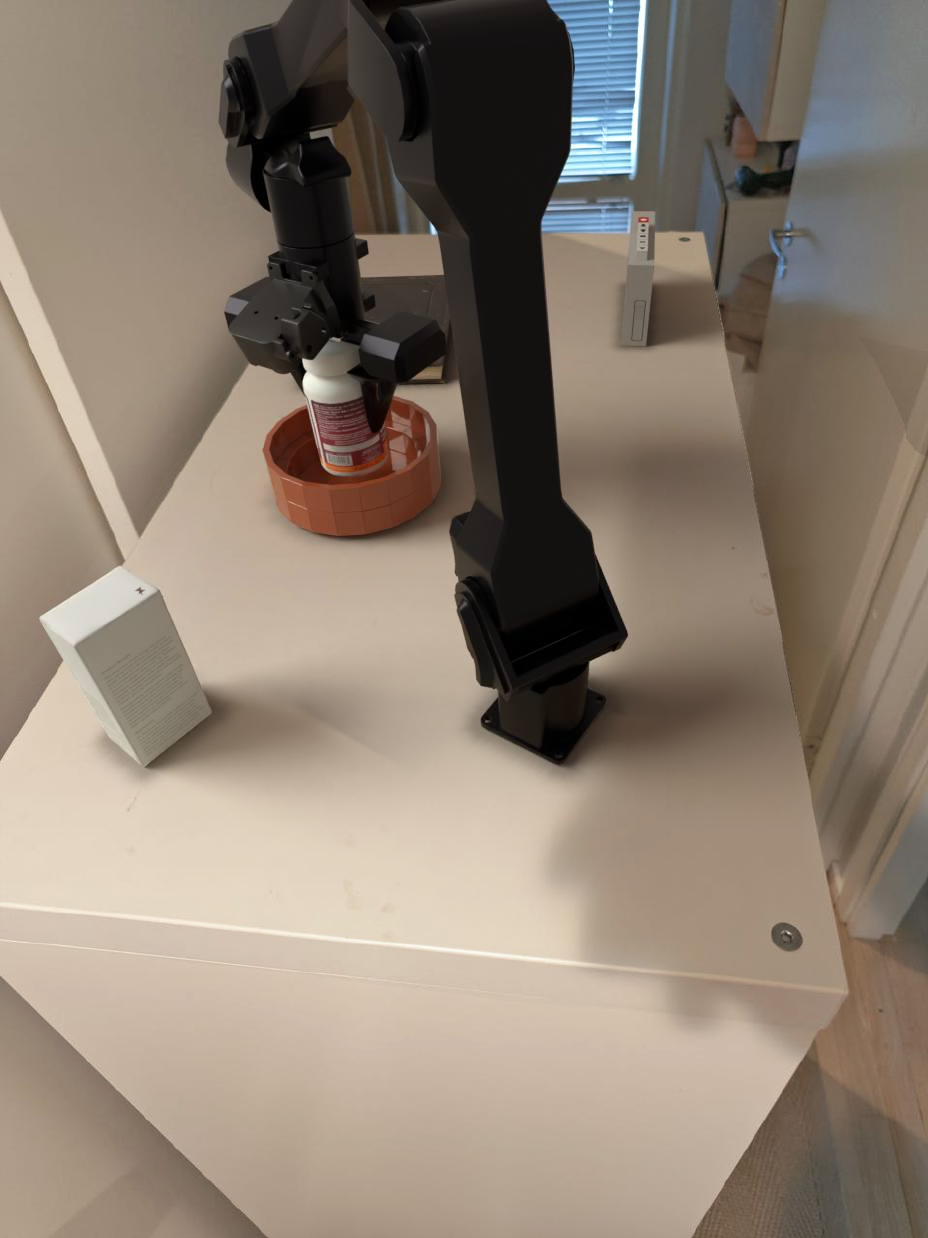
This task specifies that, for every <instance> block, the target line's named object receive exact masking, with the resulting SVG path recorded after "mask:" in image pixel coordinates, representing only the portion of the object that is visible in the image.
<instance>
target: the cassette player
mask: <svg viewBox="0 0 928 1238" xmlns="http://www.w3.org/2000/svg"><path fill="white" fill-rule="evenodd" d="M630 217H631V218H630V230H629V241H628V253H627V254H628V256H627V265H626V277H625V291H624V292H625V293H624V303H623V316H622V317H623V318H622V331H621V346H622V347H647V341H648V340H647V339H648V329H649V320H650V311H651V301H652V292H653V284H654V283H653V281H654V275H655V274H654V273H655V251H656V250H655V249H656V246H655V245H656V211H653V210H652V211H651V210H649V211H647V210H645V211H642V210H639V211H638V210H635V211H634V210H633V211H631V216H630Z"/></svg>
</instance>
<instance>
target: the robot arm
mask: <svg viewBox="0 0 928 1238" xmlns="http://www.w3.org/2000/svg"><path fill="white" fill-rule="evenodd" d="M227 58H228V59H224V61H223V63H222V64H223V66H222V77H223V79H222V81H221V84H220V93H219V94H220V96H219V108H218V120H217V121H218V124H219V127H220V130H221V133H222V135H223V137H224V139H225V140H226V141H227V142H228V143H227V146H226V153H225V154H226V155H225V164H226V165H225V166H226V168H227V171H228V174H229V177H230V178H231V179H232V181H233V182H234V184H235V185H236V186H237V187H238V188H239V189H240V190H241V191H242V192H243V193H244V194H246V196H248V197H250V199H252V200H253V201H254V202H255V203H256V204H258V205H259V206H260V207H261V208H262V209H263V210H265V211H267V212H268V213H271V218H272V223H273V228H274V233H275V238H276V243H277V248H278V250H277V251H275V252H273V253H272V254H269V255H267V259H268V262H267V264H266V269H267V273H268V276H265V277H263V278H260V279H259V280H257V281H255V282H254V283H252V284H249V285H248V286H246V287H244V288H242V289H240V290H238V291H236V292H235V293H232V294H231V295H228V298H227V301H226V303H225V306H224V309H223V313H224V317H225V321H226V325H227V329H228V332H229V333H228V334H230V335H231V337H232V339H233V340H234V341H235V343H236V345H237V346H238V348H239V350H241V353H242V354H243V356H244V357H245V359H246V360H247V362H248V363H249V364H250V365H251V366H254V367H258V366H259V367H261V368H265V369H268V370H271V371H273V372H274V373H276V374H279V375H289V374H290V375H291V377H292V378H293V380H294V381H295V383H296V385H297V386H298V388H299V389H300V391H301V393H302V395H303V396H304V397H305V394H304V389H303V378H304V375H305V373H306V372H307V371H306V370H305V368H304V366H303V361H302V358H303V359H306V360H314V359H315V357H316V356H317V355H318V354H319V352H320V351H321V350H322V349H323V347H324V346H325V345H326V343H327V342H328V341H329V339H330V340H333V341H337V342H342V341H343V342H347V343H350V344H354V345H357V346H360V347H359V350H358V351H359V358H360V363H359V364H358V365H356V366H355V367H353V368H352V369H350V370H349V371H347V374H348V375H349V376H351V377H352V378H354V379H355V380H357V381H358V382H359V383H360V385H361V391H362V396H363V401H364V406H365V411H366V416H367V421H368V424H369V427H370V430H371V432H372V433H377V432H378V431H380V430H381V429H382V427H383V424H384V422H385V419H386V416H387V413H388V410H389V407H390V404H391V401H392V398H393V396H395V392H396V390H397V387H398V385H399V384H398V383H403V382H408V381H409V380H410V379H412V378H413V377H415V376H416V375H417V374H419V373H420V372H422V371H423V370H424V369H426V368H427V367H428V366H430V365H431V364H433V363H434V362H435V361H437V360H438V359H440V358H441V357H442V356H444V355H445V354H446V353H447V350H446V337H445V331H444V327H443V326H442V325H441V324H440V323H439V322H438V321H437V320H435V319H431V318H428V317H424V316H420V315H416V314H412V313H408V312H404V311H399V312H397V313H396V314H394V315H393V316H391V317H389V318H388V319H386V320H385V321H383V322H382V323H380V324H379V323H375V322H372V321H368V320H365V318H366V315H365V313H366V312H368V311H370V310H371V309H373V308H374V307H376V304H375V296H374V294H372V293H368V292H363V289H362V281H361V277H362V275H361V268H360V261H359V260H361V259H363V258H364V257H366V256H368V255H369V254H370V252H369V243H368V240H367V239H362V238H358V237H356V233H355V227H354V226H355V225H354V220H353V213H352V204H351V199H350V191H349V184H348V178H350V177H351V176H352V172H353V171H352V167H351V165H350V163H349V161H348V159H347V157H346V156H345V155H344V154H343V153H341V152H340V151H339V150H338V149H337V148H336V147H335V145H334V144H333V142H332V140H331V138H330V137H329V136H328V135H323V136H318V137H315V138H311V133H314V132H319V131H325V130H329V129H333V128H337V127H338V126H339V124H340V123H344V121H345V120H346V117H347V115H348V113H349V112H350V110H351V108H352V107H353V105H354V103H355V100H356V99H358V101H359V102H360V103H361V105H362V107H364V109H365V111H366V112H367V114H368V115H369V116H370V118H371V119H372V120H373V122H374V123H375V126H377V128H378V130H379V131H380V132H381V134H382V135H383V136H384V137H385V138H386V143H387V148H388V153H389V156H390V157H389V158H390V162H391V165H392V170H393V173H394V176H395V178H396V180H397V181H398V182H399V184H400V185H401V186H402V188H403V189H404V190H405V192H406V193H407V194H408V195H409V197H410V198H411V199H412V201H413V202H414V203H415V205H416V206H417V207H418V208H419V210H420V211H421V212H422V214H423V215H424V216H425V218H426V219H427V220H428V222H430V224H431V225H432V226H433V228H434V229H435V231H436V233H437V239H438V244H439V249H440V257H441V264H442V271H443V275H444V278H445V285H446V292H447V299H448V306H449V313H450V320H451V327H452V334H451V335H452V341H453V347H454V354H455V361H456V369H457V376H458V384H459V389H460V396H461V397H460V398H461V405H462V411H463V417H464V424H465V432H466V438H467V445H468V453H469V459H470V465H471V466H470V467H471V473H472V481H473V487H474V498H475V499H474V501H473V503H472V506H471V508H470V510H468V511H465V512H463V513H460V514H458V515H455V516H453V517H451V521H450V524H449V529H448V535H449V539H450V542H451V548H452V552H453V557H454V575H455V576H456V577H457V582H456V583H455V587H454V594H453V596H454V601H455V605H456V615H457V617H458V620H459V623H460V625H461V629H462V633H463V637H464V641H465V645H466V649H467V651H468V652H469V655H470V657H471V659H472V660H473V663H474V668H475V669H474V671H475V680H476V682H477V683H478V684H479V686H480V687H484V688H489V689H492V690H497V697H496V698H495V700H493V702H492V703H491V705H490V706H489V707H488V708H487V709H486V710H485V712H484V713H483V714H482V715H481V717H480V726H481V728H482V729H484V730H486V731H489V732H491V733H492V734H494V735H497V737H500V738H502V739H504V740H506V741H509V742H510V743H512V744H514V745H517V746H518V747H520V748H522V749H524V750H526V751H528V752H530V753H532V754H534V755H536V756H538V757H540V758H542V759H544V760H546V761H548V762H550V763H552V764H554V765H557V766H562V765H564V764H565V763H566V762H567V760H568V759H569V758H570V757H571V755H572V754H573V752H574V751H575V750H576V748H577V746H578V745H579V744H580V742H581V741H582V740H583V738H584V737H585V735H586V734H587V733H588V731H589V730H590V729H591V727H592V726H593V724H594V723H595V721H596V720H597V719H598V718H599V716H600V715H601V713H602V712H603V710H604V709H605V707H606V705H607V697H606V696H605V695H604V694H603V693H600V692H598V691H595V690H593V689H591V688H589V678H590V677H589V676H590V665H591V664H590V663H591V662H592V661H594V660H596V659H598V658H601V657H602V656H604V655H607V654H609V653H611V652H612V653H615V652H616V651H618V650H621V649H622V647H623V645H624V644H625V642H627V641H626V640H627V639H628V638H629V632H628V630H627V627H626V624H625V623H624V620H623V617H622V615H621V612H620V610H619V607H618V605H617V602H616V600H615V598H614V595H613V593H612V590H611V588H610V586H609V583H608V580H607V578H606V576H605V574H604V571H603V568H602V566H601V564H600V561H599V558H598V557H597V554H596V549H595V544H594V537H593V533H592V531H591V529H590V528H589V526H587V524H586V523H585V522H584V520H582V518H580V516H579V515H578V514H577V512H575V510H574V509H573V508H572V507H571V505H569V503H568V502H567V501H566V500H565V499H564V497H563V491H562V483H561V481H562V480H561V469H560V468H561V467H560V456H559V455H560V454H559V453H560V452H559V441H558V429H557V427H558V426H557V416H556V415H557V414H556V403H555V389H554V378H553V377H554V376H553V364H552V363H553V361H552V350H551V337H550V336H551V335H550V324H549V311H548V299H547V297H548V296H547V286H546V284H547V283H546V274H545V273H546V271H545V260H544V245H543V230H542V229H543V227H542V224H543V219H544V216H545V214H546V211H547V209H548V207H549V204H550V202H551V200H552V197H553V195H554V193H555V190H556V188H557V185H558V183H559V180H560V178H561V176H562V174H563V171H564V169H565V166H566V164H567V161H568V159H569V156H570V153H571V149H572V130H573V129H572V125H573V124H572V123H573V101H574V99H573V97H574V80H575V72H576V62H575V61H576V60H575V49H574V45H573V42H572V39H571V35H570V32H569V29H568V25H567V23H566V22H565V21H564V19H563V18H561V17H560V16H559V15H558V14H557V13H556V12H555V11H554V9H553V8H552V7H551V6H550V3H549V2H548V0H291V1H290V2H289V3H288V5H287V6H286V8H285V10H284V11H283V13H282V14H281V16H280V17H279V18H278V19H277V20H275V21H274V22H271V23H268V24H264V25H260V26H257V27H252V28H250V29H245V30H243V31H242V32H239V33H238V34H235V35H233V36H232V37H231V39H230V41H229V43H228V49H227ZM487 721H489V722H487ZM558 756H560V757H558Z"/></svg>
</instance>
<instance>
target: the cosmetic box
mask: <svg viewBox="0 0 928 1238" xmlns="http://www.w3.org/2000/svg"><path fill="white" fill-rule="evenodd" d="M39 621H40V624H41V625H42V626H43V628H44V630H45V632H46V633H47V635H48V637H49V639H50V640H51V642H52V643H53V646H55V649H56V650H57V652H58V653H59V656H60V657H61V658H62V660H63V662H64V663H65V664H66V667H67V668H68V670H69V672H70V673H71V675H72V677H73V679H74V680H75V682H76V684H77V685H78V687H79V689H80V691H81V693H82V694H83V696H84V697H85V699H86V701H87V702H88V704H89V706H90V707H91V709H92V710H93V712H94V714H95V716H96V717H97V720H98V721H99V722H100V724H101V726H102V728H103V729H104V731H105V733H106V735H107V736H108V738H109V739H110V740H111V741H112V742H113V743H115V744H116V745H117V746H118V747H120V749H121V750H123V751H124V752H125V753H126V754H127V755H128V756H130V757H131V758H132V759H133V760H134V761H136V763H138V764H139V765H140V766H141V767H144V768H145V767H146V766H149V764H151V763H152V762H153V761H155V759H156V758H158V757H159V756H160V755H161V754H163V753H164V752H165V751H166V750H168V749H169V748H170V747H171V746H173V745H174V744H175V743H176V742H178V741H179V740H181V738H182V737H183V738H184V736H185V735H187V734H188V733H189V732H190V731H192V730H193V729H194V728H195V727H197V726H198V725H199V724H200V723H202V722H203V721H204V720H206V719H207V718H208V717H209V716H210V715H212V713H213V710H212V707H211V705H210V703H209V701H208V698H207V696H206V694H205V691H204V689H203V686H202V684H201V682H200V680H199V678H198V675H197V674H196V671H195V669H194V665H193V663H192V661H191V659H190V657H189V654H188V652H187V650H186V647H185V645H184V643H183V641H182V638H181V636H180V634H179V631H178V629H177V626H176V624H175V623H174V620H173V618H172V615H171V613H170V611H169V609H168V607H167V604H166V602H165V599H164V597H163V595H162V591H161V590H160V589H159V588H157V587H156V586H154V585H152V584H151V583H150V582H147V581H146V580H144V579H143V578H141V577H140V576H138V575H137V574H135V573H133V571H130V570H129V569H127V568H125V567H124V566H122V565H118V566H117V567H115V568H113V569H112V570H110V571H109V572H108V573H107V574H104V575H103V576H102V577H100V578H98V579H97V580H95V581H94V582H92V583H90V584H89V585H88V586H86V587H84V588H83V589H82V590H80V591H78V592H76V593H75V594H73V595H72V596H70V597H68V598H67V599H66V600H64V601H63V602H61V603H59V604H58V605H56V606H55V607H53V608H52V609H50V610H48V611H47V612H45V613H44V614H42V615H40V616H39Z"/></svg>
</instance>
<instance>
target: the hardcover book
mask: <svg viewBox="0 0 928 1238" xmlns="http://www.w3.org/2000/svg"><path fill="white" fill-rule="evenodd" d="M361 281H362V289H363V292H368V293H372V294H374V296H375V304H376V307H374V308H373V309H371V310H370V311H368V312H366V313H365V315H366V318H365V320H368V321H372V322H375V323H379V324H380V323H382V322H383V321H385V320H386V319H388V318H389V317H391V316H393V315H394V314H396V313H397V312H399V311H404V312H408V313H412V314H416V315H420V316H424V317H428V318H431V319H435V320H437V321H438V322H439V323H440V324H441V325H442V326H443V327H444V331H445V337H446V350H447V353H446V354H445V355H444V356H442V357H441V358H440V359H438V360H437V361H435V362H434V363H433V364H431V365H430V366H428V367H427V368H426V369H424V370H423V371H422V372H420V373H419V374H417V375H416V376H415V377H413V378H412V379H410V380H409V381H408V382H403V383H398V384H397V385H408V384H409V385H417V384H419V385H421V384H445V382H446V375H447V368H448V362H449V354H450V347H451V341H452V335H453V334H452V327H451V320H450V313H449V306H448V299H447V292H446V285H445V278H444V274H428V275H425V274H424V275H396V276H395V275H394V276H393V275H392V276H364V277H362V276H361Z"/></svg>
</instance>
